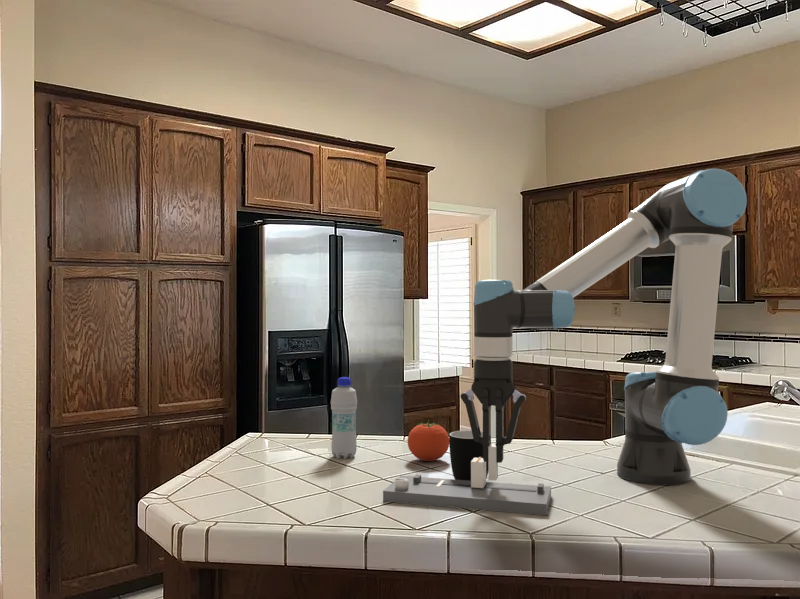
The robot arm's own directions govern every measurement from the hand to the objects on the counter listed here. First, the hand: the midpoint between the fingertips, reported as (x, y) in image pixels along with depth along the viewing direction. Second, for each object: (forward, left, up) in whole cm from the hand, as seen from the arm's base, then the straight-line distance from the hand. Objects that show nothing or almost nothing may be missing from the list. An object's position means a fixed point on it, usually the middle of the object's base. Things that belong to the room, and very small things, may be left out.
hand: (493, 478), depth 130 cm
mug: (+7, -13, -4) cm, 15 cm away
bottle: (+41, -25, -4) cm, 49 cm away
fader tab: (+3, 0, -2) cm, 3 cm away
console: (+5, +2, -4) cm, 6 cm away
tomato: (+20, -27, -4) cm, 34 cm away
